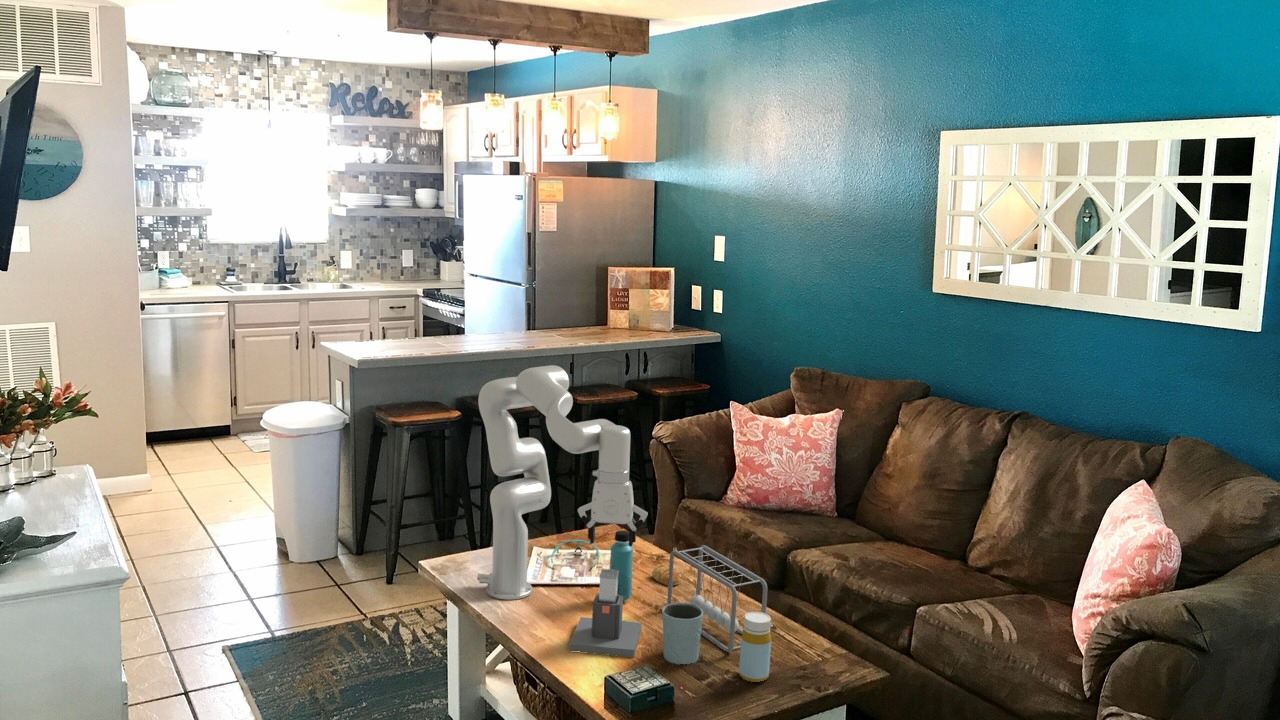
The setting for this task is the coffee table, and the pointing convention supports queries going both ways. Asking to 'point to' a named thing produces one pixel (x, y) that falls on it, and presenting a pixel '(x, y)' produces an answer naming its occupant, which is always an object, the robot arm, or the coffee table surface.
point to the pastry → (665, 575)
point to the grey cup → (681, 632)
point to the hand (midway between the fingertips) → (611, 543)
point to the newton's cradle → (706, 606)
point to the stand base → (606, 631)
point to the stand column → (608, 586)
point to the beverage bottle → (622, 563)
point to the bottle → (755, 647)
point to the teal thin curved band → (576, 548)
